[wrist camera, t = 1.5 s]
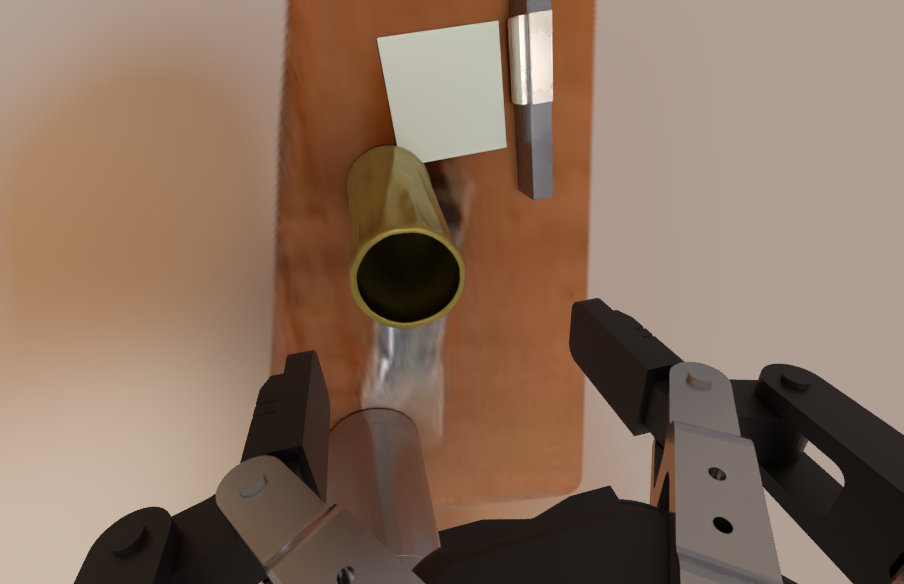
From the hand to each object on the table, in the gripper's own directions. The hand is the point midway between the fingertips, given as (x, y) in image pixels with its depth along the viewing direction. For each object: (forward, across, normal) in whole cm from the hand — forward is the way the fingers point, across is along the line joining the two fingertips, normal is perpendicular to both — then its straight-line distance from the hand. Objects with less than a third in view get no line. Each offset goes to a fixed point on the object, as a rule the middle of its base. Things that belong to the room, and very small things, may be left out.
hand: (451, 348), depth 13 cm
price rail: (+21, -10, -6) cm, 24 cm away
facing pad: (+21, -5, -6) cm, 22 cm away
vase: (+21, 0, 0) cm, 21 cm away
